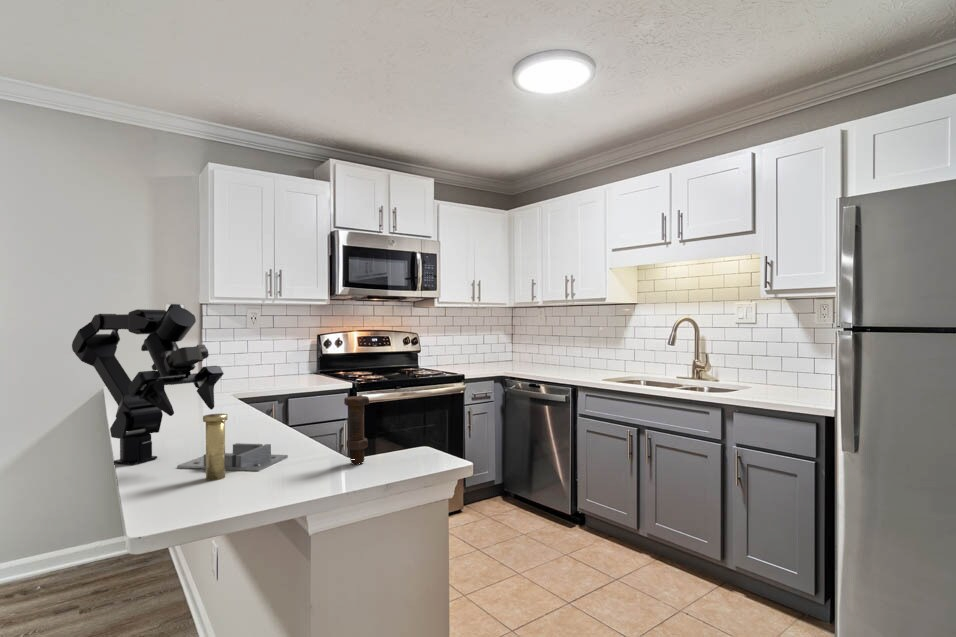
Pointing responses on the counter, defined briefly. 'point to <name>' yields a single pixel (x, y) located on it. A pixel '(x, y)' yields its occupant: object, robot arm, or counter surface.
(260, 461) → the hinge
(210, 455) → the pin
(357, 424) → the bolt
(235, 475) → the counter surface
